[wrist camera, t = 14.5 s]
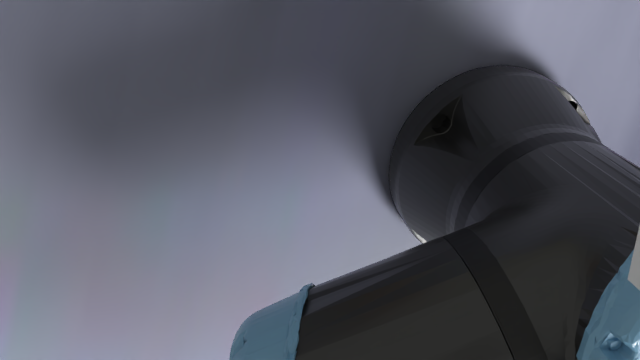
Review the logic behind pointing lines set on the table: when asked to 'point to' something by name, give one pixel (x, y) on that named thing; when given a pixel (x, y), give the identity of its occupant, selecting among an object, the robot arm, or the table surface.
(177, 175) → the table surface
